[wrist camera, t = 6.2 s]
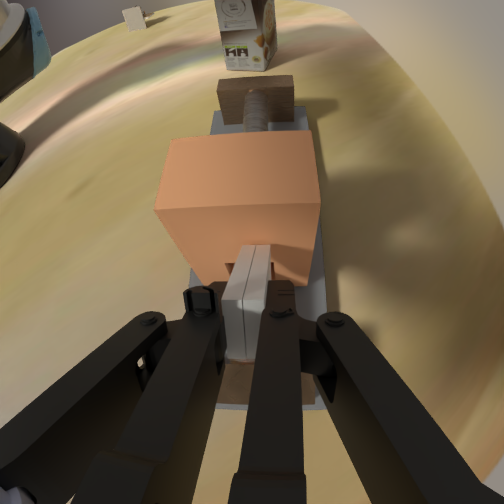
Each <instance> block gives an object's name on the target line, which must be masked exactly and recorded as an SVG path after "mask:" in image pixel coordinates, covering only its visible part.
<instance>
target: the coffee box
mask: <svg viewBox="0 0 504 504" xmlns="http://www.w3.org/2000/svg"><path fill="white" fill-rule="evenodd" d="M214 1H215V6H216V12H217V17H218V23H219V29H220V34H221V40H222V45H223V51H224V56H225V62H226V68H227V70H247V71H265V69H266V68H267V66H268V64H269V62H270V60H271V59H272V57H273V55H274V53H275V52H276V50H277V32H276V19H275V5H274V0H214Z"/></svg>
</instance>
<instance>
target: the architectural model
mask: <svg viewBox="0 0 504 504" xmlns="http://www.w3.org/2000/svg"><path fill="white" fill-rule="evenodd" d="M122 13H123V15H124V18H125V21H126V24H127V27H128V30H129V32H131V31H136V30H141V29H146V28H147V27H146V24H145V21H144V19H147V18H149V17H151V16H152V15H153V14H154V13H149V14H145V11H144V14H142V12H141V8H140V7H136V6H135V7H133V8H130V9H126V10H123V11H122Z"/></svg>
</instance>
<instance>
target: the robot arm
mask: <svg viewBox="0 0 504 504" xmlns="http://www.w3.org/2000/svg"><path fill="white" fill-rule="evenodd" d="M50 62H51V53H50V50H49V47H48V44H47V41H46V38H45V35H44V33H43V29H42V26H41V23H40V19H39V16H38V13H37V10H36V8H35V7H32V8H29V9H26V10H24V8H23V7H22V6H21V5H20V4H17V3H12V4H8V3H7V1H6V0H0V103H1V102H2V101H4V100H5V99H6V98H7V97H9V96H10V95H11V94H12V93H14V92H15V91H16V90H18V89H19V88H20V87H22V86H23V85H24V84H26V83H27V82H29V81H30V80H31V79H33V78H35V76H36V75H37V74H39V73H40V72H41V71H43V70H44V69H45V68H46V67H47V66H48V65H49V64H50ZM24 147H25V143H24V140H23V139H22V138H21V136H20V135H19V134H18V133H17V132H16V131H13V130H12V129H10V128H9V127H7V126H6V125H4V124H3V123H1V122H0V187H1V186H2V185H3V184H4V183H5V181H6V180H7V179H8V178H9V176H10V175H11V173H12V172H13V170H14V169H15V167H16V166H17V164H18V162H19V160H20V158H21V156H22V154H23V151H24ZM183 296H184V303H185V309H186V313H185V314H184V316H183V318H182V319H180V320H175V321H167V322H166V318H165V315H164V314H163V313H160V312H153V311H150V312H145V313H142V314H140V315H138V316H136V317H135V318H134V319H132V320H131V321H130V322H129V323H127V324H126V325H125V326H124V327H122V328H121V329H120V330H119V331H117V332H116V333H115V334H114V335H112V336H111V337H110V338H109V339H108V340H106V341H105V342H104V343H103V344H101V345H100V346H99V347H98V348H96V349H95V350H94V351H93V352H92V353H90V354H89V355H88V356H87V357H85V358H84V359H83V360H82V361H81V362H79V363H78V364H77V365H76V366H74V367H73V368H72V369H71V370H70V371H68V372H67V373H66V374H65V375H64V376H62V377H61V378H60V379H59V380H57V381H56V382H55V383H54V384H53V385H51V386H50V387H49V388H48V389H47V390H45V391H44V392H43V393H42V394H41V395H40V396H38V397H37V398H36V399H35V400H34V401H32V402H31V403H30V404H29V405H28V406H26V407H25V408H24V409H23V410H22V411H21V412H19V413H18V414H17V415H16V416H15V417H14V418H12V419H11V420H10V421H9V422H8V423H7V424H5V425H4V426H3V427H2V428H1V429H0V504H66V503H67V502H68V501H69V500H70V499H71V498H72V497H73V495H74V494H75V495H74V497H73V499H72V501H71V503H70V504H192V500H193V496H194V492H195V488H196V484H197V480H198V476H199V471H200V467H201V463H202V459H203V455H204V451H205V447H206V443H207V439H208V435H209V431H210V427H211V423H212V419H213V415H214V411H215V407H216V403H217V399H218V395H219V391H220V387H221V383H222V379H223V375H224V371H225V366H226V365H225V352H226V350H227V359H246V357H247V359H255V363H254V370H253V377H252V384H251V391H250V397H249V404H248V411H247V417H246V424H245V430H244V437H243V443H242V449H241V456H240V462H239V468H238V471H237V473H235V474H234V476H233V478H232V483H231V488H230V493H229V499H228V504H307V499H306V475H305V474H304V448H303V412H302V387H301V372H303V373H308V374H313V381H314V383H315V385H316V387H317V389H318V391H319V393H320V395H321V398H322V400H323V402H324V404H325V406H326V408H327V410H328V412H329V414H330V417H331V419H332V421H333V423H334V425H335V427H336V429H337V431H338V433H339V436H340V438H341V440H342V442H343V444H344V446H345V448H346V450H347V453H348V455H349V457H350V459H351V461H352V463H353V465H354V467H355V469H356V472H357V474H358V476H359V478H360V480H361V482H362V484H363V486H364V489H365V491H366V493H367V495H368V497H369V499H370V501H371V503H372V504H504V497H503V496H501V495H500V494H498V493H496V492H495V491H493V490H492V489H490V488H489V487H487V486H486V485H484V484H482V483H481V482H480V481H479V479H478V478H477V477H476V475H475V474H474V473H473V471H472V470H471V468H470V467H469V466H468V464H467V463H466V462H465V460H464V459H463V458H462V456H461V455H460V454H459V452H458V451H457V450H456V448H455V447H454V446H453V444H452V443H451V442H450V440H449V439H448V438H447V436H446V435H445V434H444V432H443V431H442V430H441V428H440V427H439V426H438V424H437V423H436V422H435V421H434V419H433V418H432V417H431V415H430V414H429V413H428V412H427V410H426V409H425V408H424V406H423V405H422V404H421V403H420V401H419V400H418V399H417V398H416V396H415V395H414V394H413V392H412V391H411V390H410V389H409V387H408V386H407V385H406V384H405V382H404V381H403V380H402V379H401V377H400V376H399V375H398V374H397V372H396V371H395V370H394V369H393V367H392V366H391V365H390V364H389V363H388V361H387V360H386V359H385V358H384V356H383V355H382V354H381V353H380V351H379V350H378V349H377V348H376V347H375V345H374V344H373V343H372V342H371V341H370V339H369V338H368V337H367V336H366V334H365V333H364V332H363V331H362V330H361V328H360V327H359V326H358V325H357V324H356V322H355V321H354V320H353V319H352V318H351V317H350V316H348V315H347V314H344V313H341V312H328V313H324V314H322V315H320V316H319V317H318V318H317V321H311V320H306V319H304V318H302V317H300V316H299V315H298V314H297V311H296V303H295V291H294V284H293V283H292V282H291V281H290V280H271V252H270V245H242V247H241V250H240V252H239V255H238V258H237V260H236V263H235V265H234V268H233V270H232V273H231V275H230V278H229V281H214V282H212V283H211V284H210V285H208V286H204V285H203V286H195V287H191V288H189V289H187V290H185V291H184V292H183ZM141 357H142V360H143V365H142V366H140V367H139V366H138V364H137V362H138V360H139V359H140V358H141ZM113 449H114V450H113Z"/></svg>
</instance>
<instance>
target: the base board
mask: <svg viewBox="0 0 504 504" xmlns="http://www.w3.org/2000/svg"><path fill="white" fill-rule="evenodd" d="M298 130H309V128H308V121H307V115H306V109H305V106H294V122H269V123H268V131H298ZM242 132H243V124H234V125H224V122H223V117H222V113H221V110H220V111H214V115H213V121H212V126H211V132H210V135H217V134H230V133H242ZM195 286H203V284H202V282H201V281H200V279H199V278H198V277H197V275H196V274H195V272H194V271H193V269H192V268H191V272H190V281H189V288H191V287H195ZM294 291H295V303H296V311H297V314H298V315H299V316H300V317H302V318H304V319H306V320H311V321H317V318H318V317H319V316H320V315H322V314H324V313H327V306H326V289H325V273H324V260H323V247H322V236H321V225H320V215H319V219H318V226H317V232H316V238H315V244H314V250H313V256H312V262H311V267H310V273H309V278H308V284H307V286H294ZM229 362H230V359H227V350H226V352H225V364H229ZM215 409H231V410H248V405H239V404H220V403H216V407H215ZM323 409H327V408H326V406H325V404H324V402H323V400H322V398H321V395H320V393H319V391H318V389H317V387H316V385H315V404H314V405H302V410H323Z"/></svg>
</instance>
